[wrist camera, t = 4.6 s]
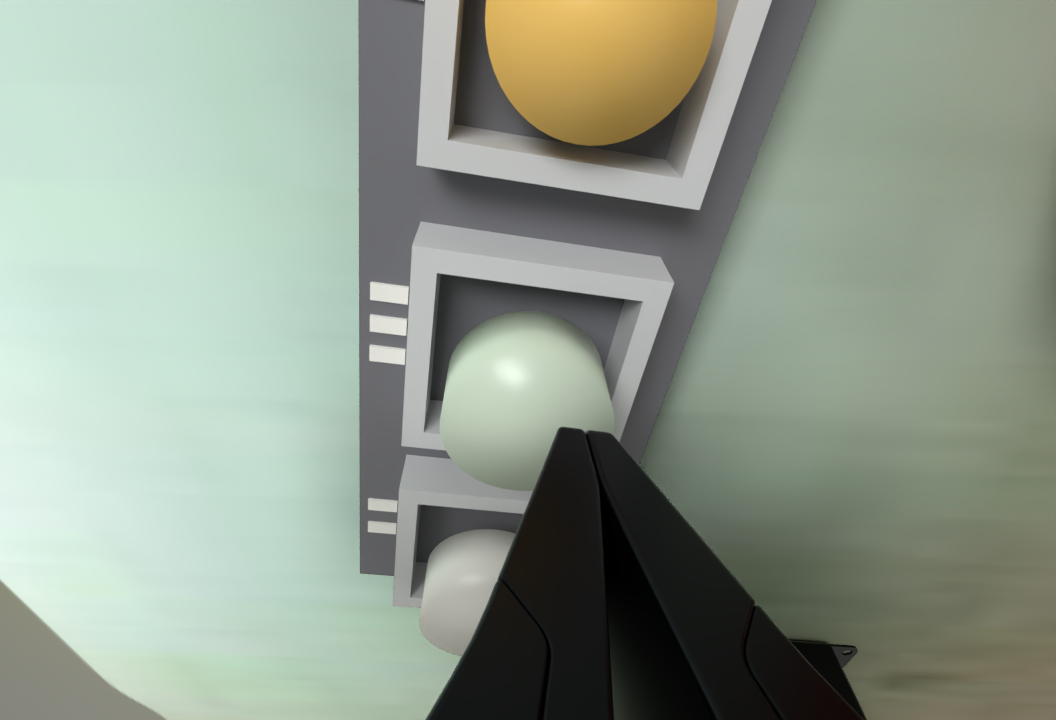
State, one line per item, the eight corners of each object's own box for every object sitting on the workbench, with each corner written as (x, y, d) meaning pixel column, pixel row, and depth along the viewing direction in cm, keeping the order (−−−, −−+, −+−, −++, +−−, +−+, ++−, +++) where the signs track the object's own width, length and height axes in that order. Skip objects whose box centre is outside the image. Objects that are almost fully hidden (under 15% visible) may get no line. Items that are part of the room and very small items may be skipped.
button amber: (654, 137, 13) (675, 161, 11) (478, 106, 12) (472, 126, 11) (715, -85, 10) (754, -97, 9) (503, -133, 10) (502, -154, 8)
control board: (586, 559, 24) (594, 626, 22) (368, 541, 23) (350, 609, 21) (836, -144, 11) (927, -176, 9) (376, -255, 10) (334, -326, 8)
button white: (535, 605, 20) (537, 661, 19) (423, 597, 20) (415, 654, 18) (556, 534, 18) (561, 590, 16) (431, 523, 18) (423, 580, 16)
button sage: (583, 443, 16) (592, 497, 14) (441, 428, 15) (433, 482, 14) (620, 322, 14) (635, 370, 12) (455, 300, 13) (447, 347, 12)
